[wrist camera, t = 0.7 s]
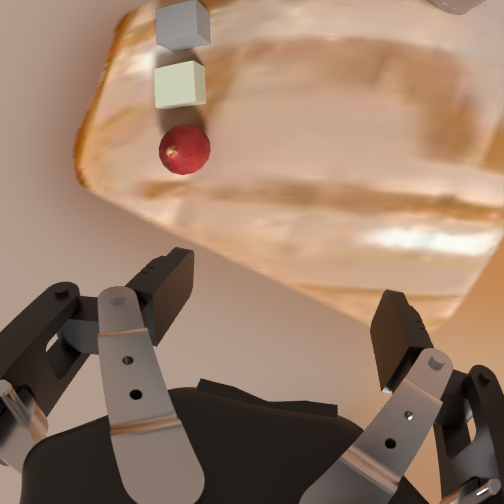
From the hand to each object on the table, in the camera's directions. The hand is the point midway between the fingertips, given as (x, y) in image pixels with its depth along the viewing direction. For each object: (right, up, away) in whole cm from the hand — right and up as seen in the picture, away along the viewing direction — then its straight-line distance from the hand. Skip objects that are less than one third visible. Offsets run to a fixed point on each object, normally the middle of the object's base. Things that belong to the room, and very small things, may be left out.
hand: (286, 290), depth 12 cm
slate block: (-9, +29, +17) cm, 35 cm away
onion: (-8, +15, +23) cm, 29 cm away
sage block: (-10, +22, +20) cm, 31 cm away
